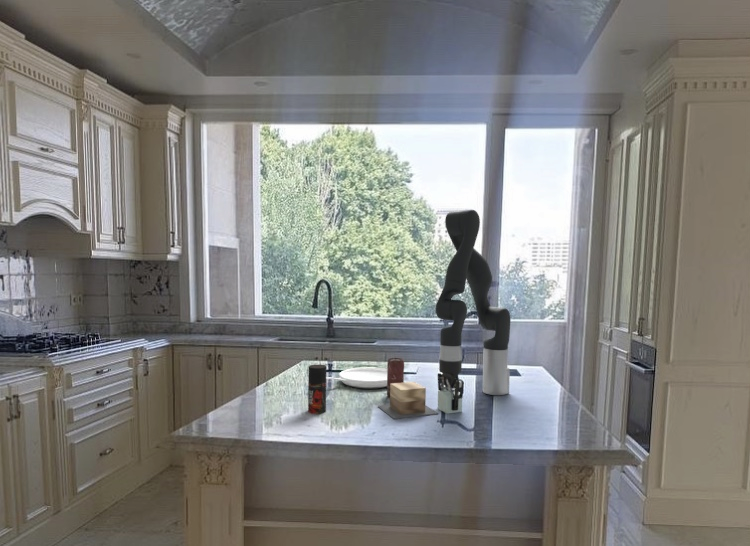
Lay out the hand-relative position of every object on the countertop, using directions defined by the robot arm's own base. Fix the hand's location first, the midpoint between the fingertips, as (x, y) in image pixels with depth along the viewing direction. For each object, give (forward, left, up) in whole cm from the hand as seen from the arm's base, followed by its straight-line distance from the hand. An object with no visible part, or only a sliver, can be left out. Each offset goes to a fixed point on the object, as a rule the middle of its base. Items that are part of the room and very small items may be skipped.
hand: (449, 407), depth 162 cm
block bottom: (+14, -4, -1) cm, 15 cm away
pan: (+19, -42, -1) cm, 47 cm away
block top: (+14, -4, +3) cm, 15 cm away
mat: (+14, -4, -1) cm, 15 cm away
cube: (0, 0, -1) cm, 1 cm away
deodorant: (+43, -13, -1) cm, 45 cm away
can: (+11, -21, -1) cm, 24 cm away
